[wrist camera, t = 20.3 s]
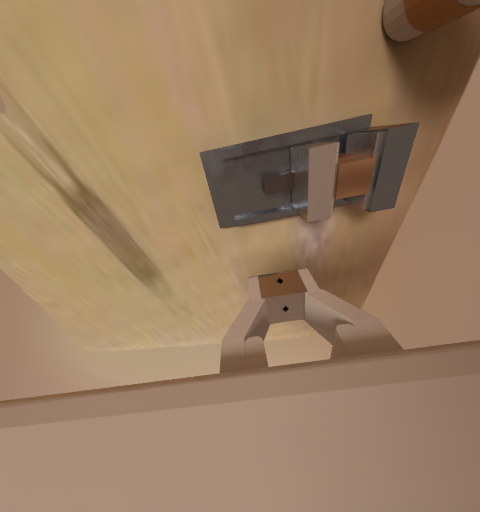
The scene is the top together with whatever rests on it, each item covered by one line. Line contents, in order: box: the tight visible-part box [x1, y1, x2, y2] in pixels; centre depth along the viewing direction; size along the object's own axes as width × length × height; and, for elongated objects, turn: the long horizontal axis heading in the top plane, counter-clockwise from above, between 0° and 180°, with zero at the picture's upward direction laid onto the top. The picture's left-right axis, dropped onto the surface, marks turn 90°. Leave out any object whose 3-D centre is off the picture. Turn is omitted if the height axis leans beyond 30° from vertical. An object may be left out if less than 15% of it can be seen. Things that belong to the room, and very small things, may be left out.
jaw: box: [262, 142, 340, 223], centre depth 24 cm, size 9×8×7 cm
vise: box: [200, 114, 419, 228], centre depth 25 cm, size 12×24×9 cm, turn 101°
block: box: [334, 153, 376, 199], centre depth 24 cm, size 4×4×8 cm
